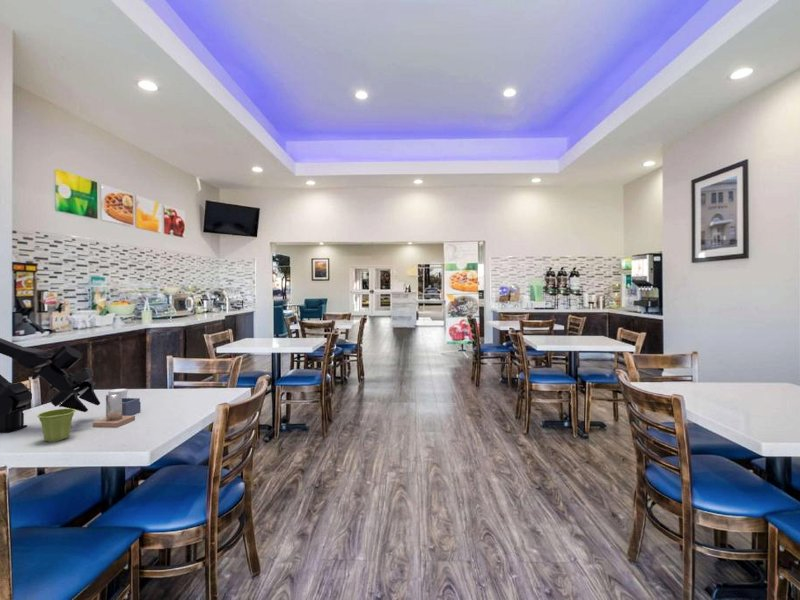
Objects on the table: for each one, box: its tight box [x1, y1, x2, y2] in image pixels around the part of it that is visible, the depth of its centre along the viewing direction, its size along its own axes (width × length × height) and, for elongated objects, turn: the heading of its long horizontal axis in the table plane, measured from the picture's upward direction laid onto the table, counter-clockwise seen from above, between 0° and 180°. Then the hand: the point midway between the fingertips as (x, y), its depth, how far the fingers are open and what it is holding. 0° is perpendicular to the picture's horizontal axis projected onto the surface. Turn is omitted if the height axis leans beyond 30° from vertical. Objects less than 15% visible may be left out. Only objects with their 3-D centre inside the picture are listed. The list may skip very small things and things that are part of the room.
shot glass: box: [107, 388, 129, 398], centre depth 172 cm, size 7×7×7 cm
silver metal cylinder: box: [105, 393, 122, 421], centre depth 149 cm, size 5×5×9 cm
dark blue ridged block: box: [122, 397, 142, 416], centre depth 160 cm, size 8×8×6 cm
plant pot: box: [37, 408, 76, 443], centre depth 132 cm, size 9×9×9 cm
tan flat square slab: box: [92, 415, 136, 428], centre depth 149 cm, size 9×9×2 cm
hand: (93, 407), depth 147 cm, fingers open, 9 cm apart
